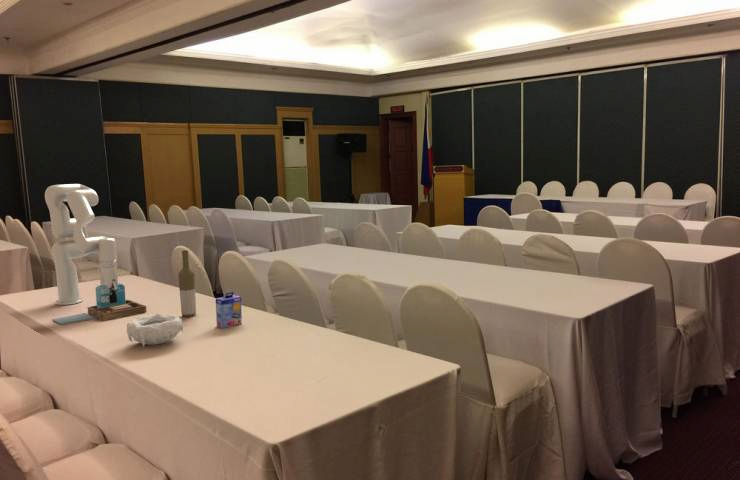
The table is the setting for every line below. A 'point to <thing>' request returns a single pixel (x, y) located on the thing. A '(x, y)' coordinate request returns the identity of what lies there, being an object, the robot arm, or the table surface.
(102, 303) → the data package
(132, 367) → the table surface
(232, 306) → the ink cartridge box
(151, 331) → the bowl
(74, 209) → the robot arm
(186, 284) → the bottle
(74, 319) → the mat
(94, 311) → the rack
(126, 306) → the offcut stack
